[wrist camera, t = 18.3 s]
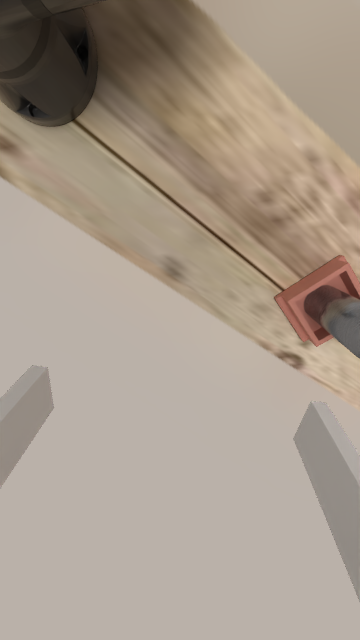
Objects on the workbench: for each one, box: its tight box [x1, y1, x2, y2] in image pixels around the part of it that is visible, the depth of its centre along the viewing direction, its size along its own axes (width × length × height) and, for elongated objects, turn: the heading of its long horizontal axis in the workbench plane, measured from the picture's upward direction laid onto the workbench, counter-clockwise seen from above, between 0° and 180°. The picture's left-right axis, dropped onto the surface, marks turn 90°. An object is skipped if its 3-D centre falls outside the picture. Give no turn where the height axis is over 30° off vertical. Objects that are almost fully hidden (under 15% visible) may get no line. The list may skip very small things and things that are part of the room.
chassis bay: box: [274, 255, 360, 347], centre depth 41 cm, size 10×12×4 cm
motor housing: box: [304, 285, 360, 358], centre depth 35 cm, size 6×6×16 cm
